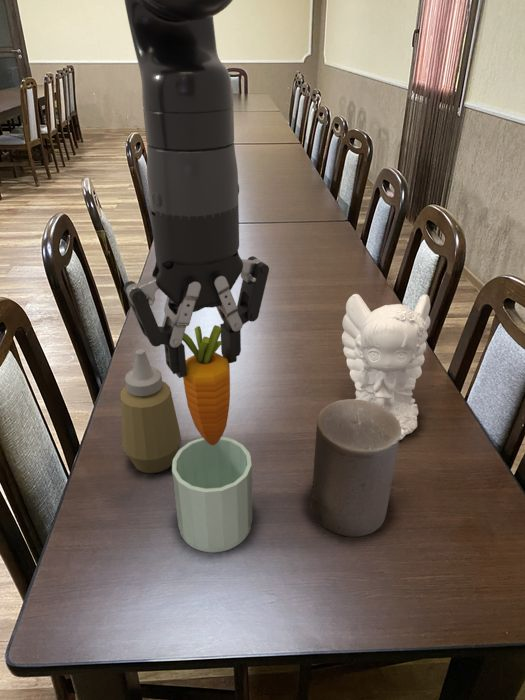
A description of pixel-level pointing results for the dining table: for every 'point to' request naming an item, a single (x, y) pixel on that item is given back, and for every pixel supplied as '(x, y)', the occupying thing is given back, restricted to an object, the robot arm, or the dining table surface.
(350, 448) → the pillar candle
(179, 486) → the tumbler
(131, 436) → the squeeze bottle
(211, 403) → the carrot
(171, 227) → the robot arm
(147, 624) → the dining table surface
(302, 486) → the dining table surface
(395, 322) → the cherub figurine
